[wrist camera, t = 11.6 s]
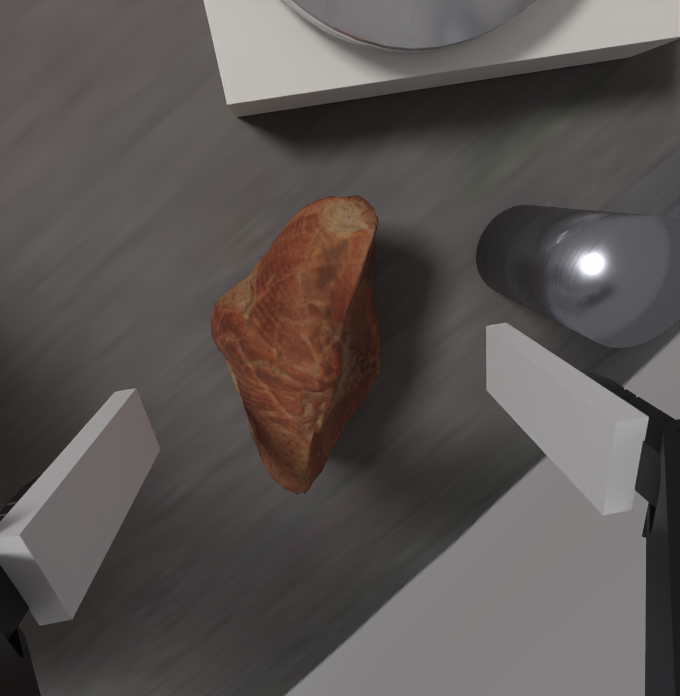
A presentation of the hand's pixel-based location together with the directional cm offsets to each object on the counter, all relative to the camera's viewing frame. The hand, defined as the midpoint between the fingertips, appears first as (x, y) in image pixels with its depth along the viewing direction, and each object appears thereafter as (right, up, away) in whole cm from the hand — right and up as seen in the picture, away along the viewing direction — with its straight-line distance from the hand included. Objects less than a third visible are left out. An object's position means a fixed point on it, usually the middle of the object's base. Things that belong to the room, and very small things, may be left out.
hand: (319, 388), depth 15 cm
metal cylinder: (+10, +7, +6) cm, 14 cm away
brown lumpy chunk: (-1, +3, +7) cm, 7 cm away
